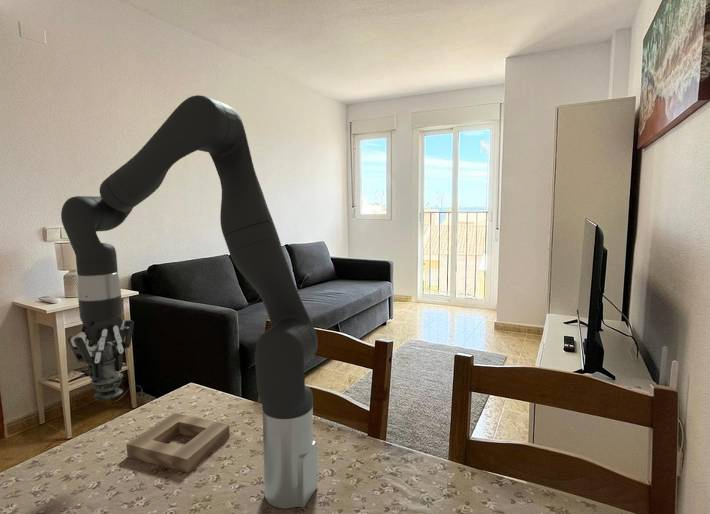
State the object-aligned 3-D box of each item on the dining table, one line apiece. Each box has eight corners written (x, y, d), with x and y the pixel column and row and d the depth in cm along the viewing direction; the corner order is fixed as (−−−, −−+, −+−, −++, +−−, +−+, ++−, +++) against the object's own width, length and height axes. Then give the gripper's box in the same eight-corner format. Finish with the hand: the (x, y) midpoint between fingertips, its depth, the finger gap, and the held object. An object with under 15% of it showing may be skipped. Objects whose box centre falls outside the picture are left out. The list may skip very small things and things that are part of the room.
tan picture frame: (229, 436, 98) (229, 424, 97) (187, 473, 84) (187, 459, 84) (174, 424, 103) (174, 412, 102) (127, 456, 90) (126, 443, 89)
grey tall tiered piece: (130, 388, 90) (126, 334, 89) (112, 401, 84) (107, 344, 83) (105, 387, 91) (100, 334, 89) (85, 400, 85) (79, 343, 83)
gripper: (80, 304, 77) (89, 392, 79) (142, 289, 90) (148, 364, 93) (51, 301, 79) (60, 386, 82) (115, 287, 93) (122, 360, 95)
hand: (107, 374), depth 87 cm, fingers closed on grey tall tiered piece, 4 cm apart
